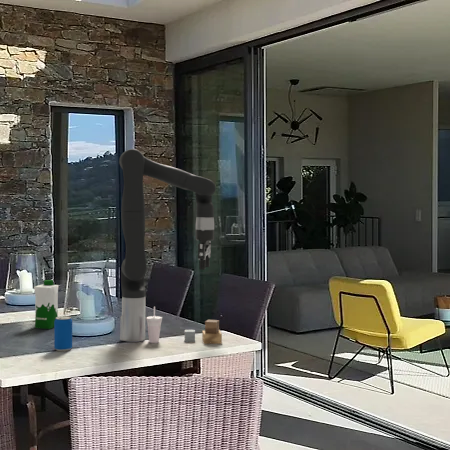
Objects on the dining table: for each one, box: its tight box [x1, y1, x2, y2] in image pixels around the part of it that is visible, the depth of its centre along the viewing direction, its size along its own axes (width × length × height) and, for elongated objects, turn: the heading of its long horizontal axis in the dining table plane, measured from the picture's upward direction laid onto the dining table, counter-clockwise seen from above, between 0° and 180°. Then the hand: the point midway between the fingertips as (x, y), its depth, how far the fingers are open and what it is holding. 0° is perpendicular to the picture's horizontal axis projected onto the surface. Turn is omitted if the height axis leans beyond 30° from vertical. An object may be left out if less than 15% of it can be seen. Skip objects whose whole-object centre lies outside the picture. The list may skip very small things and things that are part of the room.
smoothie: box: [145, 306, 163, 344], centre depth 262 cm, size 6×6×14 cm
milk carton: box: [33, 279, 59, 330], centre depth 288 cm, size 9×9×20 cm
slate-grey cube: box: [184, 329, 196, 343], centre depth 266 cm, size 4×4×4 cm
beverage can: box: [53, 315, 73, 352], centre depth 248 cm, size 6×6×12 cm
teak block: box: [201, 329, 223, 345], centre depth 265 cm, size 7×7×4 cm
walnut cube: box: [204, 319, 220, 334], centre depth 264 cm, size 4×4×4 cm
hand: (204, 268), depth 272 cm, fingers open, 8 cm apart
